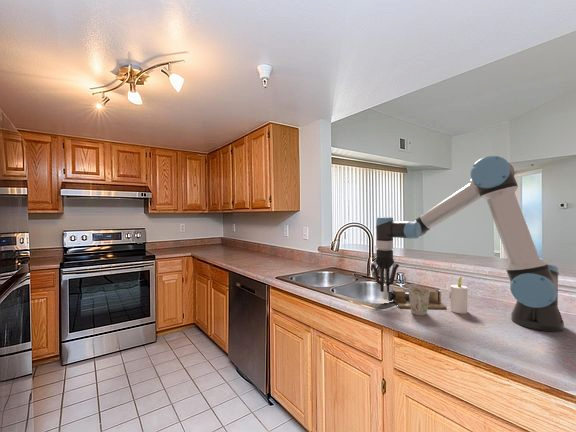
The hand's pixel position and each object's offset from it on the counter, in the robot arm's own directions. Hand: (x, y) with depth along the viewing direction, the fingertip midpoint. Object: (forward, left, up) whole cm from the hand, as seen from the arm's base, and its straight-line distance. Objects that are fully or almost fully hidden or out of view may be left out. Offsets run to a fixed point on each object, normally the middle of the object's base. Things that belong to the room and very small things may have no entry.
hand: (384, 298), depth 137 cm
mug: (-17, -10, -2) cm, 20 cm away
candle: (-12, -28, -2) cm, 30 cm away
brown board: (0, -14, -1) cm, 14 cm away
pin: (0, -13, -1) cm, 13 cm away
